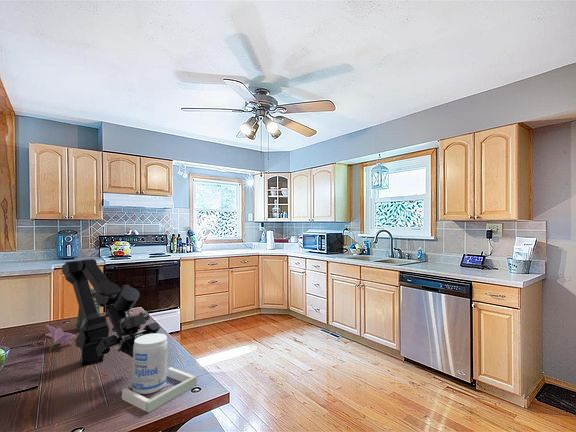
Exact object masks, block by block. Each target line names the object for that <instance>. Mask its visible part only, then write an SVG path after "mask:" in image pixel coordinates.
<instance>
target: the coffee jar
mask: <svg viewBox="0 0 576 432" xmlns="http://www.w3.org/2000/svg"><path fill="white" fill-rule="evenodd" d="M90 289H91V293H92V296H93V299H94V303H95V306H96V309H97V313H98V315H100V316H101V311H100V310H101V309H100V306H99V304H98V303H97V301H96V299H95V294H96V291H95V289H94V288H90ZM82 321H83V319H82V316H81V312H80V309H79V308H78V312H77V319H76V324H75V325H76V326H75V328H76V331H79V332H80V327H81V324H82Z"/></svg>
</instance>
